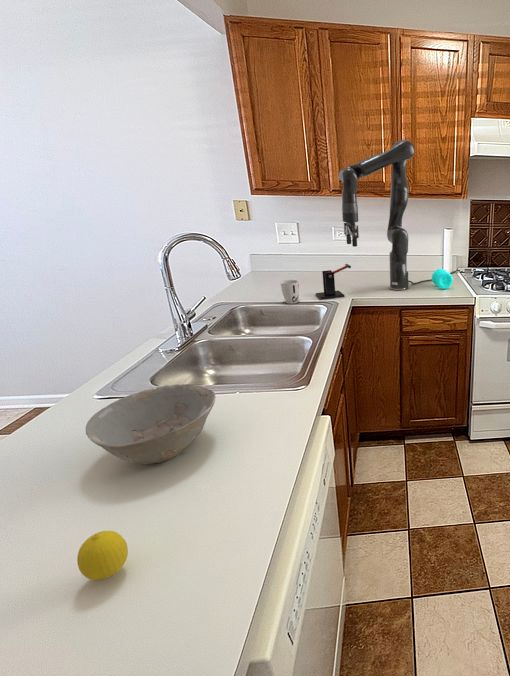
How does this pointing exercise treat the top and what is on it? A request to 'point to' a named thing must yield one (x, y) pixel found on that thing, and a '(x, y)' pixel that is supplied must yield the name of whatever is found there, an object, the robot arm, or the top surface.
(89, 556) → the lemon
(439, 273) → the turquoise rounded cylinder
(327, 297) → the bracket
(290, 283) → the cup
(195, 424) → the ceramic bowl
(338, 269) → the lever
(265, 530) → the top surface
